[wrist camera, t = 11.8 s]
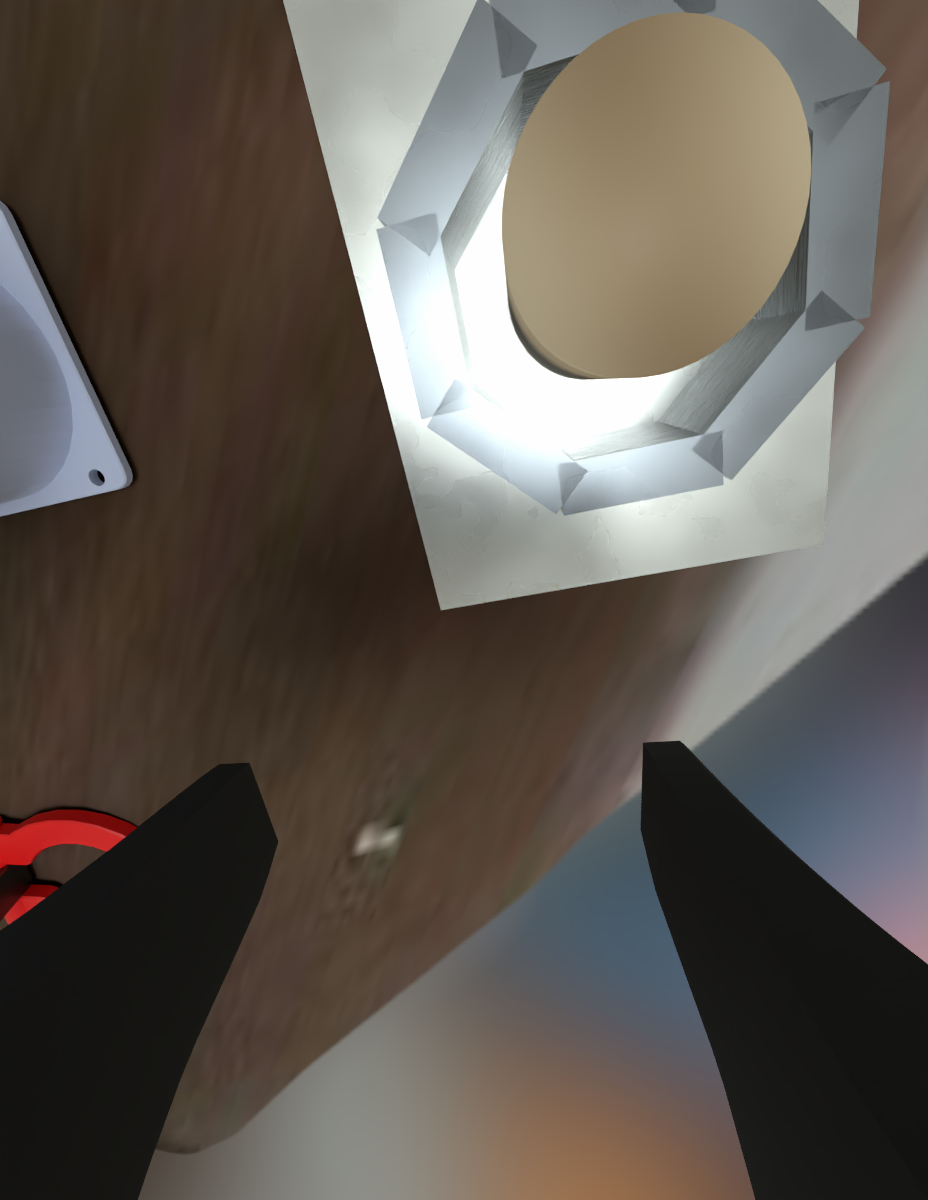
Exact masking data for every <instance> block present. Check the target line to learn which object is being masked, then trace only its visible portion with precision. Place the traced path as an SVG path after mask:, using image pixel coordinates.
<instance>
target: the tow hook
mask: <svg viewBox="0 0 928 1200" xmlns="http://www.w3.org/2000/svg"><path fill="white" fill-rule="evenodd" d="M136 828H137V827H136V826H134V825H132V824H131V823H128V822H125V821H123V820H120V819H117V818H115V817H112V816H109V815H106V814H101V813H96V812H91V811H86V810H54V811H49V812H45V813H40V814H37V815H35V816H33V817H31V818H29V819H27V820H25V821H23V822H22V823H21V824H10V823H4V822H3V820H2V818H1V816H0V921H1V920H2V919H3V918H4V917H5V919H6V921H7V923H8V925H9V924H11V923H12V922H13V921H15V920H16V919H18V918H19V917H20V916H22V915H23V914H25V913H26V912H27V911H29V910H30V909H31V908H33V907H34V906H35V905H37V904H38V903H39V902H41V901H42V900H43V899H45V898H46V897H47V896H49V895H50V894H51V893H53V892H54V891H55V890H57V889H58V887H56V886H53V885H33V884H32V881H33V877H32V874H31V872H30V870H29V868H28V866H27V865H29V864H30V863H32V862H33V861H34V860H35V858H36V857H37V856H38V855H39V854H40V853H41V852H42V850H44V849H46V848H48V847H50V846H54V845H59V844H81V845H86V846H92V847H95V848H98V849H101V850H104V851H106V852H107V851H108V850H110V849H111V848H112V847H113V846H115V845H116V844H117V843H118V842H120V841H121V840H122V839H124V838H125V837H126V836H127V835H129V834H130V833H131V832H132V831H134V830H135V829H136Z"/></svg>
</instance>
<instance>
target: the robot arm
mask: <svg viewBox="0 0 928 1200" xmlns="http://www.w3.org/2000/svg"><path fill="white" fill-rule="evenodd" d="M98 471H100V472H101V473H102V474H103V475H104V478H105V482H102V481H101V480H100V479H99V477H98V474H97V472H98ZM132 478H133V475H132V471H131V468H130V466H129V464H128V462H127V460H126V458H125V455H124V453H123V451H122V449H121V447H120V445H119V443H118V440H117V438H116V436H115V434H114V432H113V430H112V428H111V425H110V423H109V421H108V419H107V417H106V415H105V413H104V410H103V408H102V406H101V404H100V402H99V400H98V398H97V396H96V393H95V391H94V389H93V387H92V385H91V383H90V381H89V378H88V376H87V374H86V372H85V370H84V368H83V366H82V363H81V361H80V359H79V357H78V355H77V353H76V351H75V348H74V346H73V344H72V342H71V340H70V338H69V336H68V333H67V331H66V329H65V327H64V325H63V323H62V321H61V318H60V316H59V314H58V312H57V310H56V308H55V306H54V303H53V301H52V299H51V297H50V295H49V293H48V291H47V288H46V286H45V284H44V282H43V280H42V278H41V276H40V274H39V271H38V269H37V267H36V265H35V263H34V261H33V259H32V256H31V254H30V252H29V250H28V248H27V246H26V244H25V241H24V239H23V237H22V235H21V233H20V231H19V229H18V226H17V224H16V222H15V220H14V218H13V216H12V214H11V212H10V211H9V209H8V208H7V206H6V205H5V204H3V203H2V202H1V201H0V516H5V515H9V514H13V513H18V512H22V511H27V510H31V509H35V508H40V507H44V506H48V505H53V504H57V503H62V502H66V501H70V500H75V499H79V498H83V497H88V496H92V495H97V494H101V493H105V492H110V491H114V490H118V489H122V488H125V487H127V486H129V485H130V484H131V482H132ZM641 832H642V837H643V841H644V845H645V849H646V854H647V858H648V862H649V866H650V870H651V874H652V878H653V882H654V885H655V890H656V893H657V896H658V899H659V902H660V904H661V907H662V910H663V913H664V916H665V918H666V921H667V924H668V927H669V930H670V932H671V935H672V938H673V941H674V944H675V947H676V950H677V952H678V955H679V958H680V961H681V963H682V966H683V969H684V972H685V975H686V977H687V980H688V983H689V986H690V988H691V991H692V994H693V997H694V1000H695V1002H696V1005H697V1008H698V1011H699V1014H700V1016H701V1019H702V1022H703V1025H704V1027H705V1030H706V1033H707V1035H708V1039H709V1041H710V1044H711V1047H712V1050H713V1053H714V1056H715V1059H716V1062H717V1066H718V1069H719V1072H720V1075H721V1078H722V1081H723V1084H724V1087H725V1091H726V1094H727V1098H728V1101H729V1105H730V1108H731V1112H732V1116H733V1120H734V1123H735V1127H736V1131H737V1134H738V1137H739V1141H740V1144H741V1149H742V1152H743V1156H744V1159H745V1162H746V1167H747V1170H748V1174H749V1177H750V1181H751V1185H752V1189H753V1192H754V1196H755V1200H928V964H926V963H925V962H924V961H923V960H922V959H920V958H919V957H918V956H916V955H915V954H914V953H912V952H911V951H910V950H909V949H907V948H906V947H905V946H903V945H902V944H901V943H900V942H898V941H897V940H896V939H895V938H893V937H892V936H891V935H890V934H888V933H887V932H886V931H885V930H883V929H882V928H881V927H880V926H879V925H877V924H876V923H875V922H874V921H872V920H871V919H870V918H869V917H867V916H866V915H865V914H864V913H863V912H861V911H860V910H859V909H858V908H857V907H855V906H854V905H853V904H852V903H851V902H850V901H848V900H847V899H846V898H845V897H844V896H843V895H841V894H840V893H839V892H838V891H837V890H836V889H834V888H833V887H832V886H831V885H830V884H829V883H827V882H826V881H825V880H824V879H823V878H822V877H821V876H819V875H818V874H817V873H816V872H815V871H814V870H813V869H812V868H810V867H809V866H808V865H807V864H806V863H805V862H804V861H803V860H801V859H800V858H799V857H798V856H797V855H796V854H795V853H794V852H793V851H792V850H790V849H789V848H788V847H787V846H786V845H785V844H784V843H783V842H782V841H781V840H780V839H779V838H778V837H777V836H776V835H774V834H773V833H772V832H771V831H770V830H769V829H768V828H767V827H766V826H765V825H764V824H763V823H762V822H761V821H759V819H757V818H756V817H755V816H754V815H753V814H752V813H751V812H750V811H749V810H748V809H747V808H746V807H745V806H744V805H743V804H742V803H741V802H740V801H739V800H738V799H737V798H736V797H735V796H734V795H733V794H732V793H731V792H730V791H729V790H728V789H727V788H726V787H725V786H724V785H723V784H722V783H721V782H720V781H719V780H718V779H717V778H716V777H715V776H714V775H713V774H712V773H711V772H710V771H709V770H708V769H707V768H706V766H704V764H703V763H702V762H701V761H700V760H699V759H698V758H697V757H696V756H695V755H694V754H693V753H692V752H691V751H690V750H689V749H688V748H687V747H686V746H685V745H684V744H683V743H682V742H681V741H667V742H648V743H643V768H642V803H641ZM277 844H278V840H277V837H276V834H275V832H274V829H273V826H272V823H271V821H270V818H269V815H268V812H267V810H266V807H265V804H264V801H263V799H262V796H261V793H260V790H259V788H258V785H257V782H256V780H255V777H254V774H253V771H252V769H251V766H250V763H235V764H219V765H217V766H216V767H215V768H213V769H212V770H210V771H209V772H208V773H206V774H205V775H203V776H202V777H201V778H199V779H198V780H197V781H196V782H194V783H193V784H192V785H190V786H189V787H188V788H187V789H185V790H184V791H183V792H181V793H180V794H179V795H178V796H176V797H175V798H174V799H173V800H171V801H170V802H169V803H168V804H166V805H165V806H164V807H163V808H161V809H160V810H159V811H158V812H156V813H155V814H154V815H153V816H151V817H150V818H149V819H148V820H146V821H145V822H144V823H142V824H141V825H140V826H139V827H137V828H136V829H135V830H134V831H132V832H131V833H130V834H129V835H127V836H126V837H125V838H124V839H122V840H121V841H120V842H118V843H117V844H116V845H115V846H113V847H112V848H111V849H110V850H108V851H107V852H106V853H105V854H103V855H102V856H101V857H99V858H98V859H97V860H95V861H94V862H93V863H91V864H90V865H89V866H87V867H86V868H85V869H83V870H82V871H81V872H79V873H78V874H77V875H75V876H74V877H73V878H71V879H70V880H69V881H67V882H66V883H65V884H63V885H62V886H61V887H59V888H58V889H57V890H55V891H54V892H53V893H51V894H50V895H49V896H47V897H46V898H45V899H43V900H42V901H41V902H39V903H38V904H37V905H35V906H34V907H33V908H31V909H30V910H29V911H27V912H26V913H25V914H23V915H22V916H20V917H19V918H18V919H16V920H15V921H13V922H12V923H11V924H9V925H8V926H6V927H5V928H3V929H2V930H0V1200H138V1197H139V1194H140V1191H141V1188H142V1185H143V1182H144V1179H145V1176H146V1173H147V1170H148V1168H149V1165H150V1162H151V1159H152V1156H153V1153H154V1150H155V1148H156V1145H157V1142H158V1139H159V1137H160V1134H161V1131H162V1128H163V1126H164V1123H165V1120H166V1117H167V1115H168V1112H169V1109H170V1106H171V1104H172V1101H173V1098H174V1095H175V1093H176V1090H177V1087H178V1084H179V1082H180V1079H181V1076H182V1074H183V1072H184V1069H185V1067H186V1064H187V1062H188V1060H189V1057H190V1055H191V1052H192V1050H193V1047H194V1045H195V1043H196V1040H197V1038H198V1036H199V1034H200V1032H201V1029H202V1027H203V1025H204V1023H205V1021H206V1018H207V1016H208V1014H209V1012H210V1010H211V1007H212V1005H213V1003H214V1001H215V999H216V996H217V994H218V992H219V990H220V988H221V985H222V983H223V981H224V979H225V977H226V974H227V972H228V970H229V968H230V966H231V963H232V961H233V959H234V957H235V955H236V952H237V950H238V948H239V946H240V944H241V941H242V939H243V937H244V935H245V932H246V930H247V928H248V926H249V923H250V921H251V919H252V917H253V914H254V912H255V910H256V907H257V905H258V903H259V900H260V898H261V895H262V892H263V889H264V886H265V883H266V880H267V877H268V874H269V871H270V867H271V864H272V861H273V857H274V854H275V851H276V847H277Z"/></svg>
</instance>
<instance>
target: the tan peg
mask: <svg viewBox="0 0 928 1200" xmlns="http://www.w3.org/2000/svg"><path fill="white" fill-rule="evenodd" d="M810 180H811V146H810V140H809V133H808V127H807V121H806V118H805V115H804V111H803V108H802V104H801V101H800V98H799V96H798V94H797V92H796V90H795V87H794V85H793V83H792V81H791V79H790V77H789V76H788V74H787V73H786V71H785V69H784V68H783V66H782V65H781V63H780V62H779V60H778V59H777V58H776V57H775V56H774V55H773V54H772V53H771V52H770V50H769V49H768V48H767V47H766V46H765V45H764V44H763V43H762V42H761V41H759V40H758V39H757V38H755V37H754V36H753V35H751V34H750V33H748V32H747V31H746V30H744V29H742V28H740V27H738V26H736V25H734V24H732V23H730V22H728V21H726V20H723V19H720V18H716V17H712V16H709V15H705V14H696V13H685V12H679V13H668V14H658V15H654V16H650V17H647V18H643V19H639V20H636V21H633V22H631V23H629V24H626V25H624V26H622V27H619V28H617V29H615V30H613V31H611V32H610V33H608V34H607V35H605V36H603V37H602V38H600V39H598V40H597V41H595V42H594V43H592V44H591V45H590V46H589V47H587V48H586V49H585V50H584V51H582V52H581V53H580V54H579V55H578V56H576V57H575V58H574V59H573V60H572V61H571V62H570V63H569V64H568V65H567V66H566V67H565V68H564V69H563V70H562V71H561V73H560V74H559V75H558V76H557V77H556V78H555V79H554V81H553V82H552V83H551V85H550V86H549V87H548V89H547V90H546V91H545V93H544V94H543V95H542V97H541V98H540V100H539V101H538V103H537V105H536V106H535V108H534V110H533V111H532V113H531V115H530V117H529V118H528V120H527V122H526V125H525V127H524V129H523V131H522V133H521V135H520V138H519V140H518V142H517V145H516V148H515V151H514V154H513V157H512V160H511V163H510V166H509V171H508V175H507V180H506V184H505V189H504V197H503V205H502V246H503V256H504V266H505V276H506V287H507V297H508V306H509V312H510V317H511V321H512V324H513V327H514V329H515V332H516V334H517V336H518V338H519V340H520V342H521V343H522V345H523V346H524V348H525V349H526V351H527V352H528V353H529V354H530V355H531V356H532V357H533V359H534V360H536V361H537V362H538V363H539V364H540V365H542V366H543V367H544V368H546V369H548V370H549V371H551V372H553V373H555V374H558V375H560V376H563V377H567V378H570V379H578V380H598V379H624V378H644V377H651V376H657V375H662V374H665V373H669V372H672V371H675V370H679V369H681V368H683V367H686V366H688V365H690V364H692V363H695V362H697V361H699V360H700V359H702V358H704V357H706V356H707V355H709V354H711V353H712V352H714V351H715V350H717V349H718V348H719V347H721V346H722V345H723V344H725V343H726V342H727V341H729V340H730V339H731V338H732V337H734V336H735V335H736V334H737V333H738V332H739V331H740V330H741V329H742V328H743V327H744V326H745V325H746V324H747V323H748V322H749V321H750V320H751V319H752V318H753V316H754V315H755V314H756V313H757V312H758V311H759V310H760V308H761V307H762V306H763V305H764V303H765V302H766V300H767V299H768V297H769V296H770V295H771V293H772V292H773V290H774V289H775V287H776V286H777V284H778V282H779V280H780V278H781V277H782V275H783V273H784V271H785V269H786V268H787V266H788V263H789V261H790V259H791V256H792V254H793V252H794V249H795V247H796V245H797V242H798V239H799V236H800V232H801V229H802V226H803V223H804V219H805V214H806V209H807V204H808V199H809V191H810Z"/></svg>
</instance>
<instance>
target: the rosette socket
mask: <svg viewBox="0 0 928 1200" xmlns="http://www.w3.org/2000/svg"><path fill="white" fill-rule="evenodd" d="M283 2H284V6H285V9H286V13H287V17H288V21H289V25H290V29H291V33H292V36H293V40H294V44H295V48H296V52H297V56H298V60H299V64H300V67H301V71H302V75H303V79H304V83H305V87H306V91H307V94H308V98H309V102H310V106H311V110H312V114H313V118H314V122H315V125H316V129H317V133H318V137H319V141H320V145H321V149H322V152H323V156H324V160H325V164H326V168H327V172H328V176H329V179H330V183H331V187H332V191H333V195H334V199H335V203H336V207H337V210H338V214H339V218H340V222H341V226H342V230H343V234H344V237H345V241H346V245H347V249H348V253H349V257H350V261H351V265H352V268H353V272H354V276H355V280H356V284H357V288H358V292H359V295H360V299H361V303H362V307H363V311H364V315H365V319H366V322H367V326H368V330H369V334H370V338H371V342H372V346H373V350H374V353H375V357H376V361H377V365H378V369H379V373H380V377H381V380H382V384H383V388H384V392H385V396H386V400H387V404H388V407H389V411H390V415H391V419H392V423H393V427H394V431H395V435H396V438H397V442H398V446H399V450H400V454H401V458H402V462H403V465H404V469H405V473H406V477H407V481H408V485H409V489H410V493H411V496H412V500H413V504H414V508H415V512H416V516H417V520H418V523H419V527H420V531H421V535H422V539H423V543H424V547H425V550H426V554H427V558H428V562H429V566H430V570H431V574H432V578H433V581H434V585H435V589H436V593H437V597H438V601H439V605H440V608H441V610H445V609H451V608H457V607H463V606H469V605H474V604H480V603H486V602H492V601H498V600H503V599H509V598H515V597H521V596H527V595H532V594H538V593H544V592H550V591H556V590H562V589H567V588H573V587H579V586H585V585H591V584H596V583H602V582H608V581H614V580H620V579H625V578H631V577H637V576H643V575H649V574H655V573H660V572H666V571H672V570H678V569H684V568H689V567H695V566H701V565H707V564H713V563H718V562H724V561H730V560H736V559H742V558H748V557H753V556H759V555H765V554H771V553H777V552H782V551H788V550H794V549H800V548H806V547H811V546H817V545H823V544H824V534H825V518H826V503H827V487H828V472H829V456H830V441H831V425H832V410H833V394H834V379H835V363H836V360H837V359H838V358H839V357H840V356H841V355H842V353H843V352H844V351H845V350H846V349H847V348H848V346H849V345H850V344H851V343H852V342H853V341H854V340H855V338H856V337H857V336H858V335H859V334H860V333H861V332H862V330H863V329H864V328H865V327H864V326H862V325H861V324H860V323H859V322H858V321H857V320H858V319H862V318H866V317H870V310H871V298H872V287H873V275H874V264H875V252H876V240H877V229H878V217H879V206H880V194H881V182H882V171H883V159H884V147H885V136H886V124H887V113H888V101H889V89H890V81H889V82H885V83H882V84H878V85H875V84H876V82H877V81H878V80H879V78H880V77H881V76H882V74H883V73H884V71H885V70H886V68H885V67H884V66H883V65H882V64H881V63H880V62H879V61H878V60H877V59H876V58H875V57H874V56H873V55H872V54H871V53H870V52H869V51H868V50H867V49H866V48H865V47H864V46H863V45H862V44H861V43H860V42H859V41H858V40H857V39H856V38H857V23H858V7H859V0H283ZM679 12H685V13H696V14H705V15H709V16H712V17H716V18H720V19H723V20H726V21H728V22H730V23H732V24H734V25H736V26H738V27H740V28H742V29H744V30H746V31H747V32H748V33H750V34H751V35H753V36H754V37H755V38H757V39H758V40H759V41H761V42H762V43H763V44H764V45H765V46H766V47H767V48H768V49H769V50H770V52H771V53H772V54H773V55H774V56H775V57H776V58H777V59H778V60H779V62H780V63H781V65H782V66H783V68H784V69H785V71H786V73H787V74H788V76H789V77H790V79H791V81H792V83H793V85H794V87H795V90H796V92H797V94H798V96H799V98H800V101H801V104H802V108H803V111H804V115H805V118H806V121H807V127H808V133H809V140H810V146H811V180H810V191H809V199H808V204H807V209H806V214H805V219H804V223H803V226H802V229H801V232H800V236H799V239H798V242H797V245H796V247H795V249H794V252H793V254H792V256H791V259H790V261H789V263H788V266H787V268H786V269H785V271H784V273H783V275H782V277H781V278H780V280H779V282H778V284H777V286H776V287H775V289H774V290H773V292H772V293H771V295H770V296H769V297H768V299H767V300H766V302H765V303H764V305H763V306H762V307H761V308H760V310H759V311H758V312H757V313H756V314H755V315H754V316H753V318H752V319H751V320H750V321H749V322H748V323H747V324H746V325H745V326H744V327H743V328H742V329H741V330H740V331H739V332H738V333H737V334H736V335H735V336H734V337H732V338H731V339H730V340H729V341H727V342H726V343H725V344H723V345H722V346H721V347H719V348H718V349H717V350H715V351H714V352H712V353H711V354H709V355H707V356H706V357H704V358H702V359H700V360H699V361H697V362H695V363H692V364H690V365H688V366H686V367H683V368H681V369H679V370H675V371H672V372H669V373H665V374H662V375H657V376H651V377H644V378H624V379H598V380H578V379H570V378H567V377H563V376H560V375H558V374H555V373H553V372H551V371H549V370H548V369H546V368H544V367H543V366H542V365H540V364H539V363H538V362H537V361H536V360H534V359H533V357H532V356H531V355H530V354H529V353H528V352H527V351H526V349H525V348H524V346H523V345H522V343H521V342H520V340H519V338H518V336H517V334H516V332H515V329H514V327H513V324H512V321H511V317H510V312H509V306H508V297H507V287H506V276H505V266H504V256H503V246H502V205H503V197H504V189H505V184H506V180H507V175H508V171H509V166H510V163H511V160H512V157H513V154H514V151H515V148H516V145H517V142H518V140H519V138H520V135H521V133H522V131H523V129H524V127H525V125H526V122H527V120H528V118H529V117H530V115H531V113H532V111H533V110H534V108H535V106H536V105H537V103H538V101H539V100H540V98H541V97H542V95H543V94H544V93H545V91H546V90H547V89H548V87H549V86H550V85H551V83H552V82H553V81H554V79H555V78H556V77H557V76H558V75H559V74H560V73H561V71H562V70H563V69H564V68H565V67H566V66H567V65H568V64H569V63H570V62H571V61H572V60H573V59H574V58H575V57H576V56H578V55H579V54H580V53H581V52H582V51H584V50H585V49H586V48H587V47H589V46H590V45H591V44H592V43H594V42H595V41H597V40H598V39H600V38H602V37H603V36H605V35H607V34H608V33H610V32H611V31H613V30H615V29H617V28H619V27H622V26H624V25H626V24H629V23H631V22H633V21H636V20H639V19H643V18H647V17H650V16H654V15H658V14H668V13H679ZM874 85H875V86H874Z"/></svg>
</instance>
